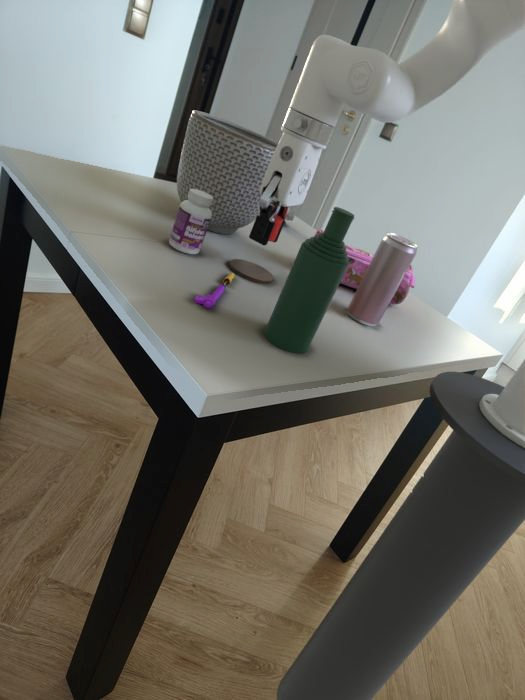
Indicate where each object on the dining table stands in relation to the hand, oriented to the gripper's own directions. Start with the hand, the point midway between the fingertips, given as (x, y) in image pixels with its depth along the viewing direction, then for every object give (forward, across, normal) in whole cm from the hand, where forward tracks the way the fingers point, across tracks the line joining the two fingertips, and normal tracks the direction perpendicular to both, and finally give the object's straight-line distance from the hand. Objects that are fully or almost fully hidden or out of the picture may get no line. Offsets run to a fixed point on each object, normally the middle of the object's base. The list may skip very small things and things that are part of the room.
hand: (263, 239), depth 85 cm
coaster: (+6, 0, 0) cm, 6 cm away
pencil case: (+6, +20, -14) cm, 25 cm away
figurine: (+7, +45, +13) cm, 47 cm away
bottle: (+6, -18, -14) cm, 24 cm away
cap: (0, 0, 0) cm, 0 cm away
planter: (+6, +15, +17) cm, 23 cm away
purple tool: (+6, -14, -1) cm, 16 cm away
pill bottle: (+6, -5, +11) cm, 14 cm away
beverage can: (+6, +6, -20) cm, 22 cm away
